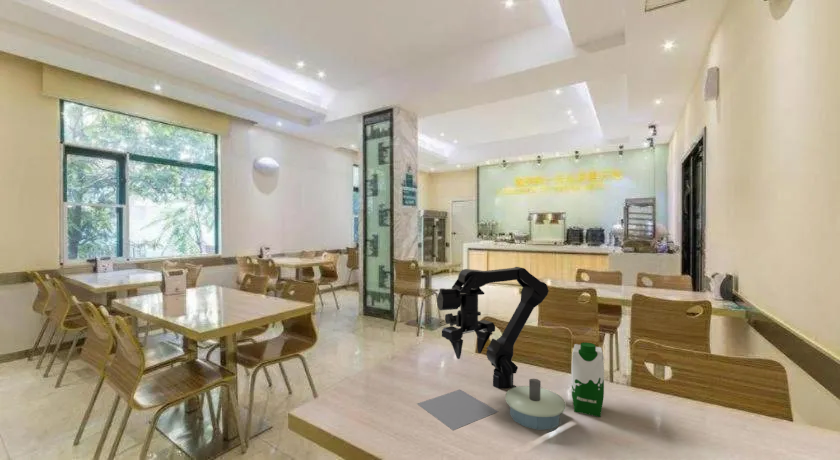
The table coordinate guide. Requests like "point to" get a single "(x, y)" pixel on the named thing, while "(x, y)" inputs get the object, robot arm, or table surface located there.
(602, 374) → the milk carton
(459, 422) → the mat
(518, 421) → the ring
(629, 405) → the table surface
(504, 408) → the table surface
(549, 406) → the lid
